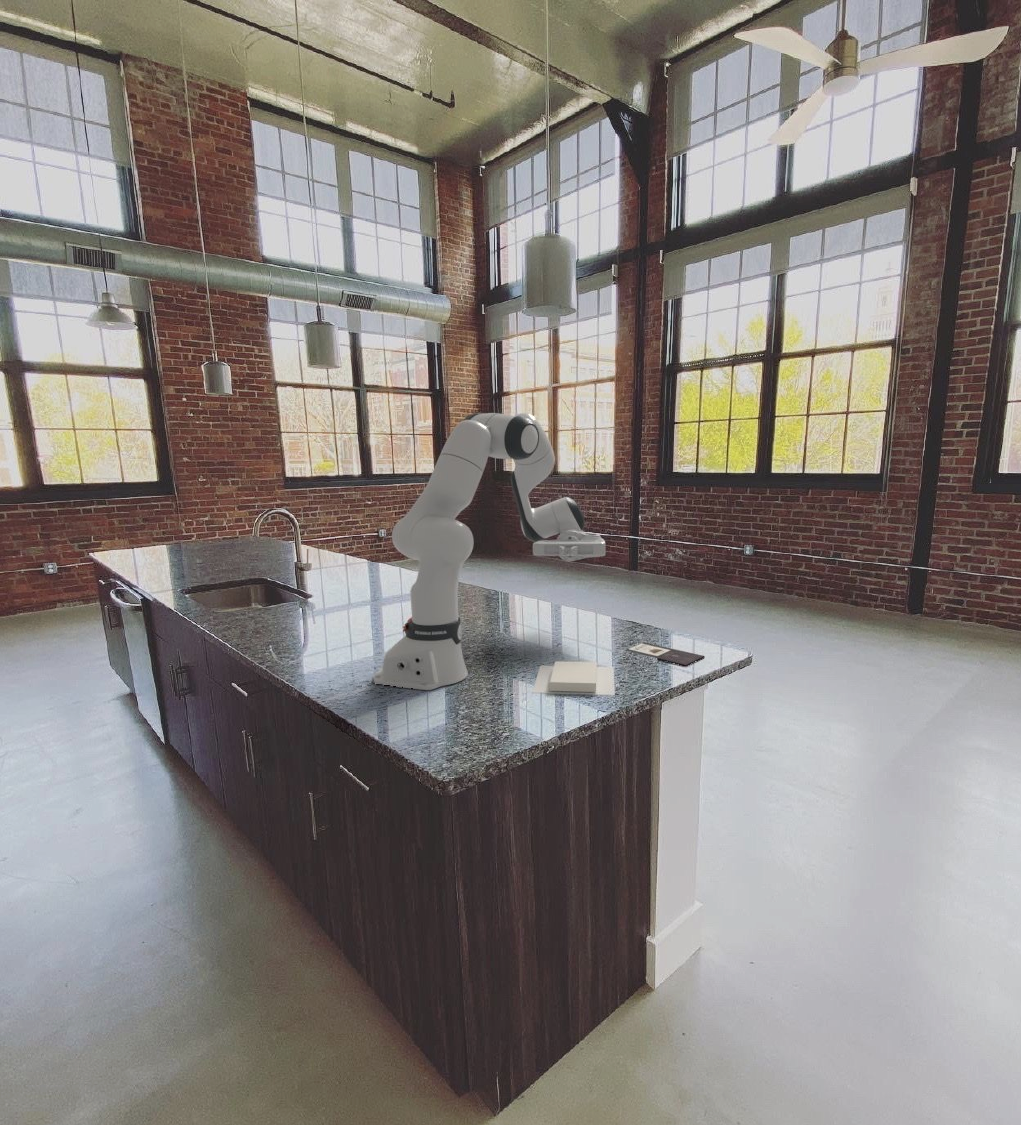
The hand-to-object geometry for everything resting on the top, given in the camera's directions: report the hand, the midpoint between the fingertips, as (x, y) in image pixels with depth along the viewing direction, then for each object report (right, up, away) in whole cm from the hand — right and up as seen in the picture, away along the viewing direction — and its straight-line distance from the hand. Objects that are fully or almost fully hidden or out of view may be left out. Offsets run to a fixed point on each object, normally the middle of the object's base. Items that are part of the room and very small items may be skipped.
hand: (567, 552), depth 160 cm
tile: (0, -28, -16) cm, 32 cm away
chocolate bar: (+25, -27, -4) cm, 37 cm away
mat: (0, -30, -21) cm, 37 cm away
